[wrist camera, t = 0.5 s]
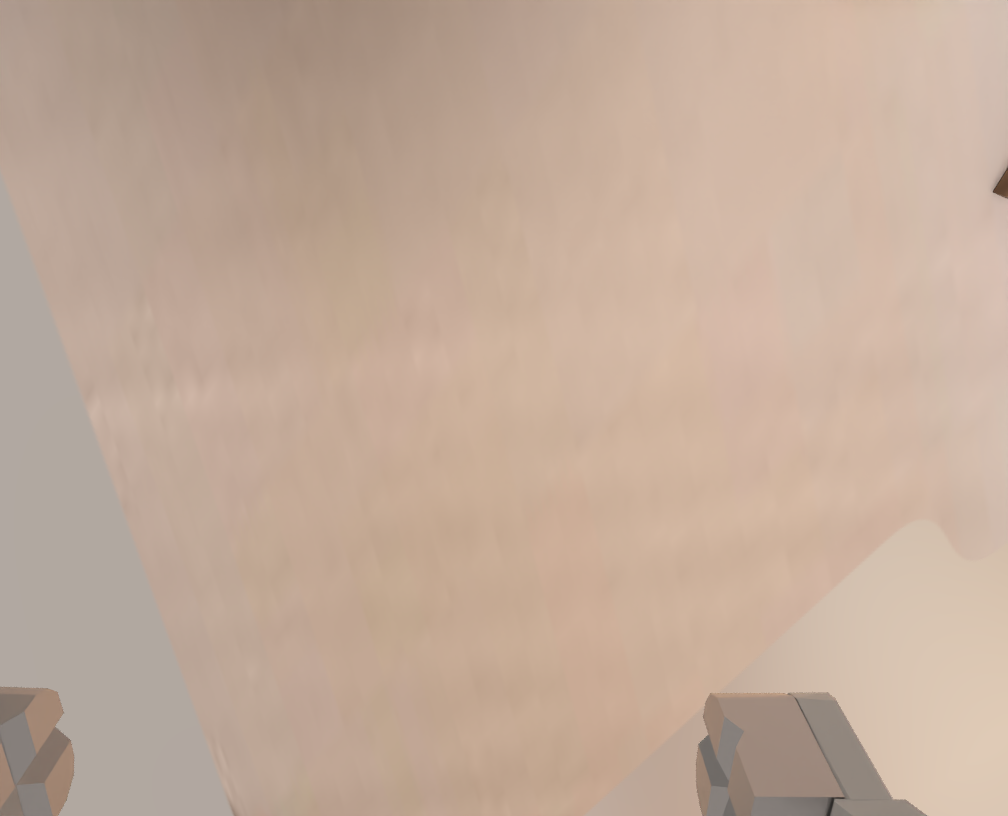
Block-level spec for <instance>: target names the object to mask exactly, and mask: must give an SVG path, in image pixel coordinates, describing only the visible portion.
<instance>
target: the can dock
mask: <svg viewBox="0 0 1008 816" xmlns="http://www.w3.org/2000/svg"><path fill="white" fill-rule="evenodd" d="M993 192H994V193H996V194H998V195H1001V196H1003V197H1005V198H1008V169H1007V170H1006V172H1005V174H1004V175H1003V177H1002V178H1001V180H1000V182H999V183H998V185H997V186H996V188H995V189H994V191H993Z"/></svg>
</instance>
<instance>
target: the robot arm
mask: <svg viewBox="0 0 1008 816" xmlns="http://www.w3.org/2000/svg"><path fill="white" fill-rule="evenodd" d="M63 713H64V712H63V709H62V705H61V702H60V699H59V695H58V692H56V691H53V690H50V689H48V688H19V687H0V816H58V815H59V813H60V811H61V809H62V808H63V806H64V804H65V802H66V800H67V797H68V793H69V790H70V786H71V783H72V779H73V776H74V753H73V748H72V744H71V740H70V739H69V738H67V737H66V736H65V735H64V734H63V733H62V732H60V731H59V730H58V729H57V728H56V727H55V725H56V724H57V722H58V721H59V719H60V718H61V716H62V715H63ZM703 718H704V721H705V725H706V728H707V730H708V734H709V735H708V736H706V738H704V740H702V741H701V742H700V743H699V744H698V752H697V759H696V785H697V792H698V798H699V804H700V808H701V811H702V815H703V816H927V815H926V814H924V813H923V812H922V811H920V810H919V809H917V808H916V807H915V806H913V805H912V804H911V803H909V802H908V801H907V800H894V799H893V798H892V797H891V795H890V793H889V791H888V790H887V788H886V786H885V784H884V783H883V781H882V779H881V777H880V776H879V774H878V772H877V770H876V769H875V767H874V765H873V763H872V762H871V760H870V758H869V757H868V755H867V753H866V751H865V749H864V748H863V746H862V744H861V742H860V741H859V739H858V738H857V735H856V734H855V732H854V730H853V729H852V727H851V725H850V724H849V722H848V720H847V718H846V716H845V715H844V713H843V711H842V710H841V708H840V706H839V704H838V702H837V701H836V699H835V698H834V697H833V696H832V695H830V694H829V693H788V694H785V693H710V695H709V696H708V698H707V700H706V703H705V709H704V715H703Z"/></svg>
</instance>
